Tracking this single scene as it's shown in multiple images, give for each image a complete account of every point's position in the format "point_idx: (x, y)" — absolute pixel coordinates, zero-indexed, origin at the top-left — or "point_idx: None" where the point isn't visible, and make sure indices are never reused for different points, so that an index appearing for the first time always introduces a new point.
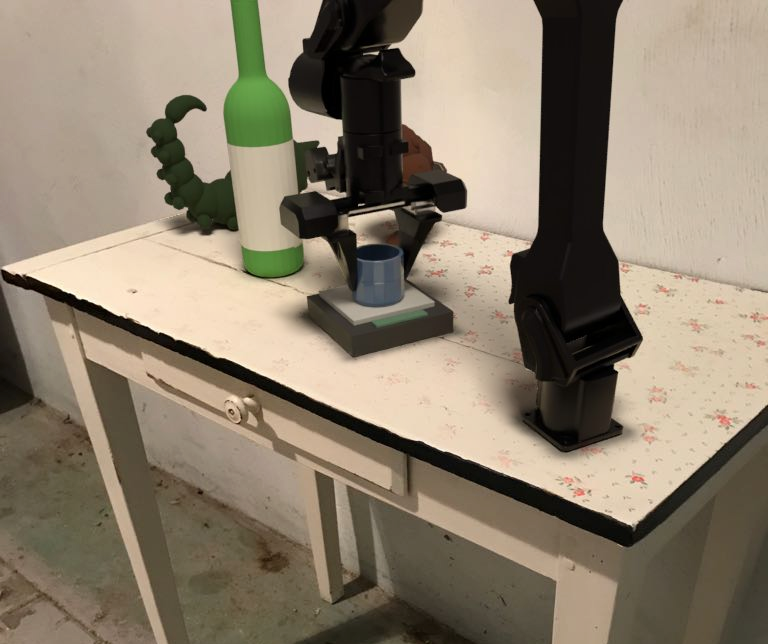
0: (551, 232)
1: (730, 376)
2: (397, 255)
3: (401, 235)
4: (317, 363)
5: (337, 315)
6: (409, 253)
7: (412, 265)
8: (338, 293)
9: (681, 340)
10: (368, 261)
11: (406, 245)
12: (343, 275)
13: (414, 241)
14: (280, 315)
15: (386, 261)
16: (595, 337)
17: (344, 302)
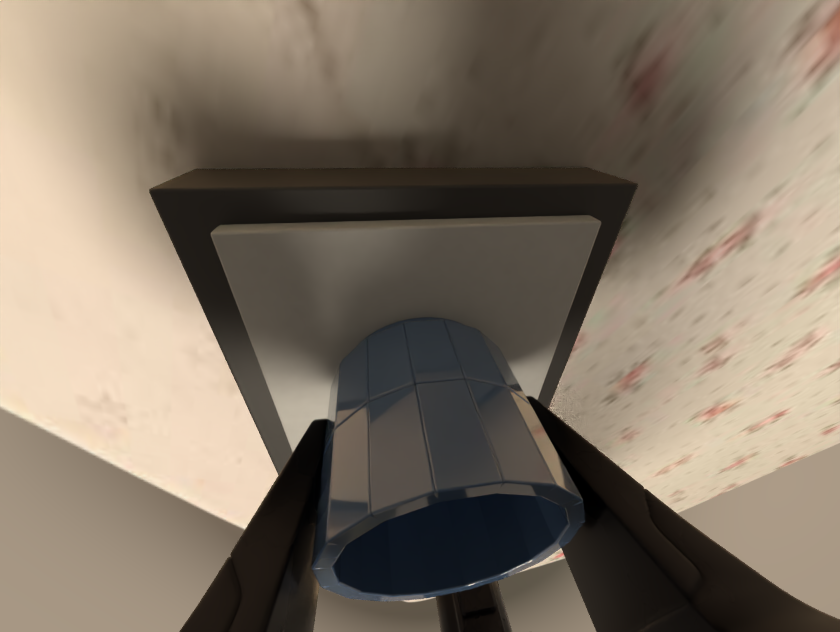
0: None
1: None
2: (543, 503)
3: (638, 585)
4: (205, 429)
5: (266, 392)
6: (562, 550)
7: None
8: (300, 299)
9: (689, 480)
10: (369, 599)
11: (590, 565)
12: (283, 468)
13: (596, 629)
14: (39, 78)
15: (436, 594)
16: None
17: (301, 371)
